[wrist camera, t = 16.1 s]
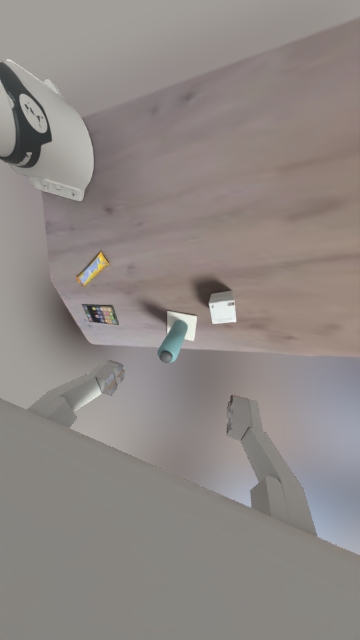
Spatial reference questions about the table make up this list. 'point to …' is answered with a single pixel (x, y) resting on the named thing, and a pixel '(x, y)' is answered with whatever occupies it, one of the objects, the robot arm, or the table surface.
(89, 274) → the candy bar
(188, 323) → the coaster
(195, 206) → the table surface
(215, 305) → the skincare box
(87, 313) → the smartphone
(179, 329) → the bottle
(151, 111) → the table surface
